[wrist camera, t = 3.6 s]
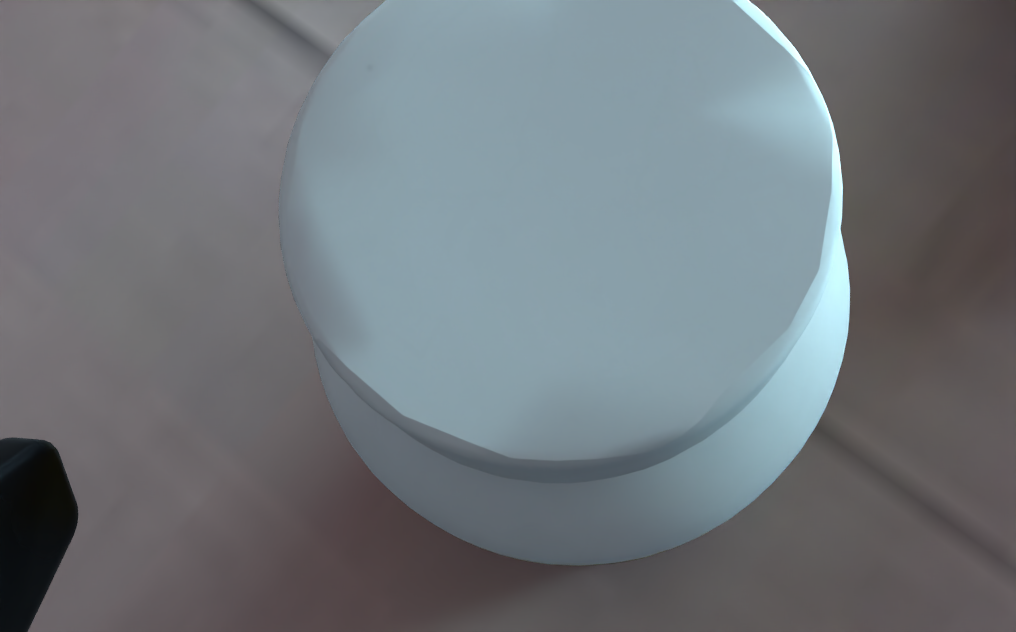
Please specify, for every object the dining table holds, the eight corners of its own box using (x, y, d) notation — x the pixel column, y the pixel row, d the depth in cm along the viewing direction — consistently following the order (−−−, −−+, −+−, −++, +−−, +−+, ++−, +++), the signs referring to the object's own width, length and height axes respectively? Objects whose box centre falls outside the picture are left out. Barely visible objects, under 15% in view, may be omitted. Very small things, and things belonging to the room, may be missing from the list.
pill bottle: (401, 316, 19) (114, 6, 8) (677, 211, 19) (748, -245, 8) (499, 609, 17) (292, 693, 6) (804, 495, 17) (1111, 390, 6)
